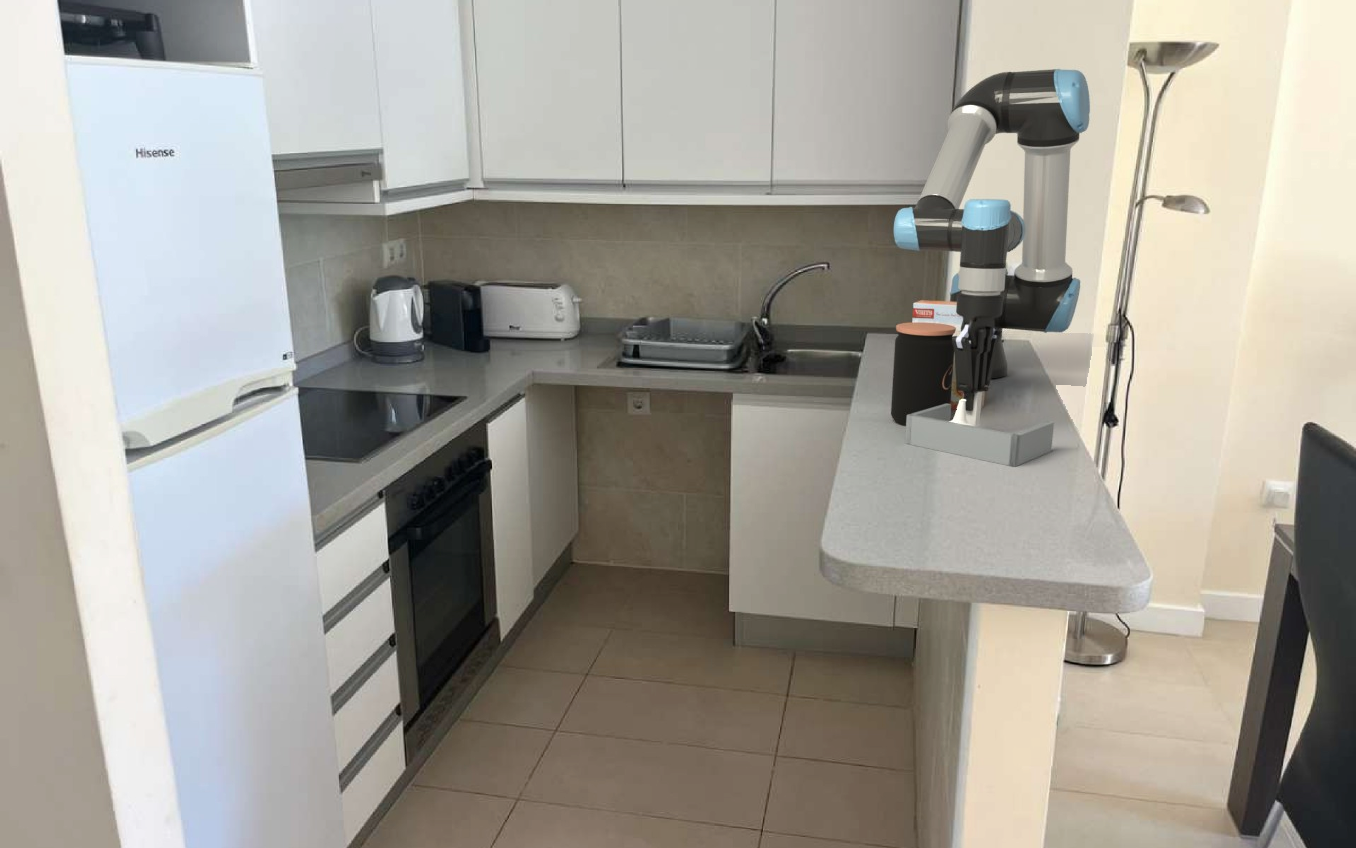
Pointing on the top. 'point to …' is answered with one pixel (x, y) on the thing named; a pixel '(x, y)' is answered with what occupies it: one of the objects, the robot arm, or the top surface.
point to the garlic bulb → (961, 413)
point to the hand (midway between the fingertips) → (969, 427)
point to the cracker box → (946, 315)
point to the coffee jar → (921, 368)
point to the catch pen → (976, 438)
